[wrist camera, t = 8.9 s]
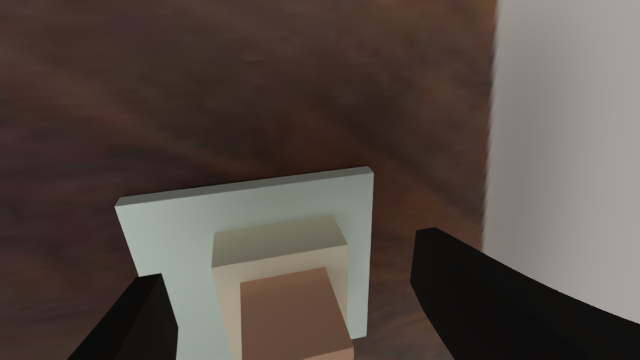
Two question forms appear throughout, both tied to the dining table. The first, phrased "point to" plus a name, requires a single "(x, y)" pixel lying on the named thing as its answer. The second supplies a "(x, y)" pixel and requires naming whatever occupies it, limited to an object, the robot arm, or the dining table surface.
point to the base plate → (236, 206)
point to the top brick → (293, 319)
